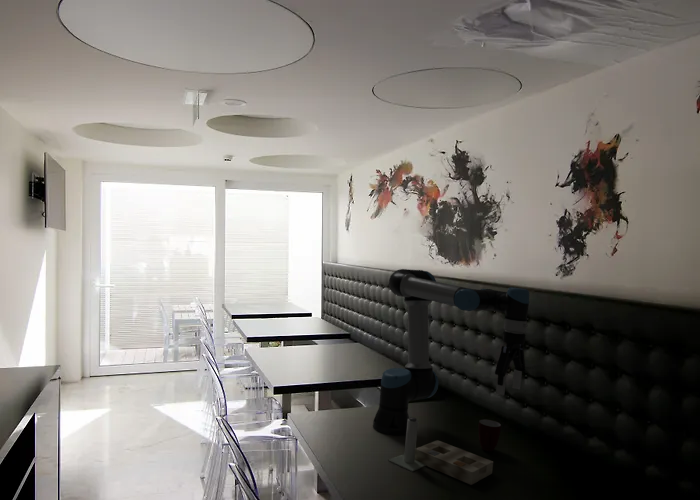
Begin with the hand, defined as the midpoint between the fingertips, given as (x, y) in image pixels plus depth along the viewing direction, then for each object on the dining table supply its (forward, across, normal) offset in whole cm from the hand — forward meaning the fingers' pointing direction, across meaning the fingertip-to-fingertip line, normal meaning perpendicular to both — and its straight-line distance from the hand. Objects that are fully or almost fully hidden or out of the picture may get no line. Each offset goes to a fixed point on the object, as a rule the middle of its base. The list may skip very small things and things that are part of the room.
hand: (508, 391), depth 177 cm
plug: (+25, -27, +21) cm, 43 cm away
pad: (+26, -27, +21) cm, 43 cm away
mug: (+26, +7, +8) cm, 28 cm away
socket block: (+26, -18, +9) cm, 32 cm away
